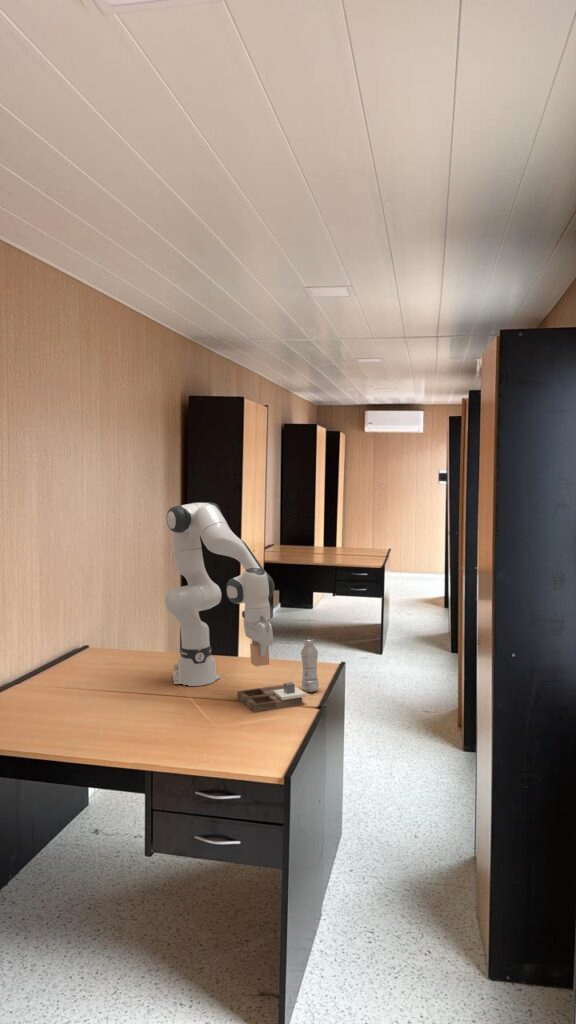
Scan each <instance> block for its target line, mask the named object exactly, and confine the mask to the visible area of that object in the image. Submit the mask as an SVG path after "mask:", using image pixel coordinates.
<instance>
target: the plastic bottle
mask: <svg viewBox="0 0 576 1024" xmlns="http://www.w3.org/2000/svg"><path fill="white" fill-rule="evenodd" d="M314 641H315V639H314V638H312V637H305V638H303V644H304V646H303V647H302V649H301V651H300V657H301V663H302V679H301V689H302V691H303V692H304V693H313V692H317V691H318V689H319V687H320V686H319V679H318V672H317V669H318V657H319V656H318V655H319V652H318V649H317V648H316V646H315V642H314Z"/></svg>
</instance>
